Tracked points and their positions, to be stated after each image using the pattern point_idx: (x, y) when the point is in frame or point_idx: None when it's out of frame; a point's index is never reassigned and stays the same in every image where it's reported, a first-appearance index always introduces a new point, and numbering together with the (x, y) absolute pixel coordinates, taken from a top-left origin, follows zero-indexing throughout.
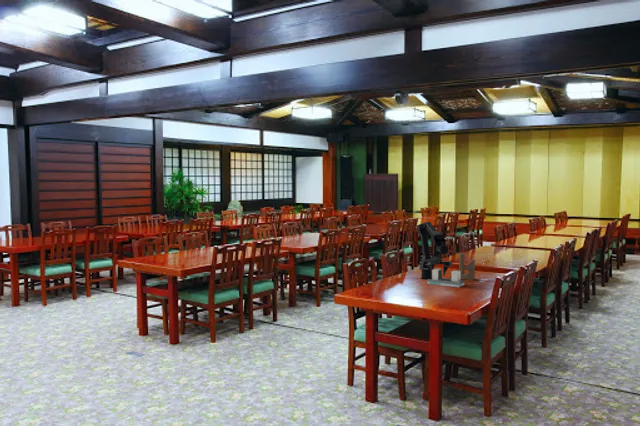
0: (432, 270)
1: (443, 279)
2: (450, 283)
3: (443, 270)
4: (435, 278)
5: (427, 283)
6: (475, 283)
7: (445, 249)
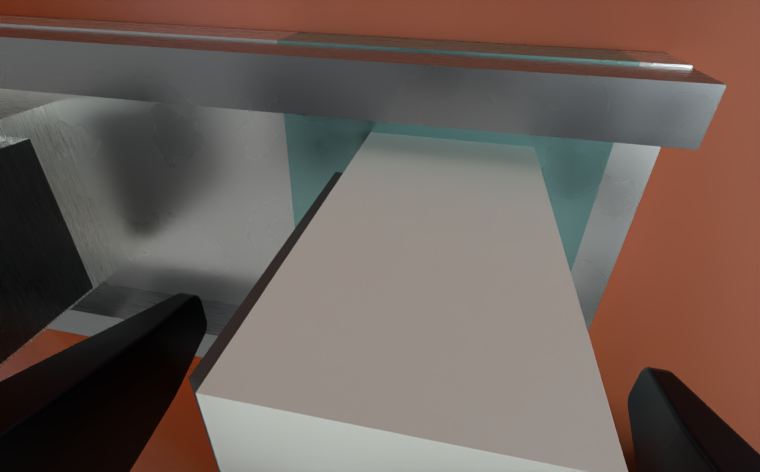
0: (610, 424)
1: None
2: (1, 27)
3: (8, 427)
4: (432, 177)
5: (664, 54)
6: None
7: None
